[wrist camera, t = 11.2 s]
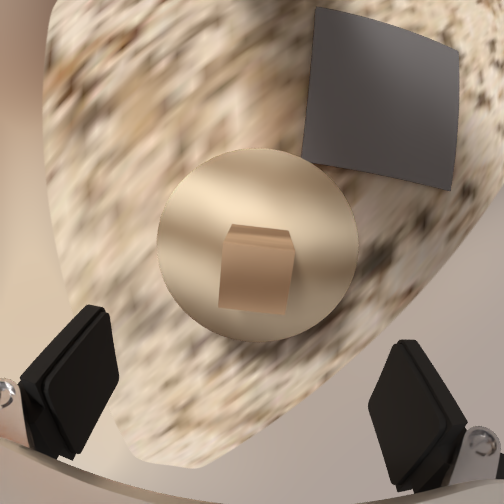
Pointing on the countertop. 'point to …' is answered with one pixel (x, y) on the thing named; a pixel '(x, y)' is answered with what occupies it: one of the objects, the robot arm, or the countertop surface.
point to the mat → (381, 100)
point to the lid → (257, 245)
